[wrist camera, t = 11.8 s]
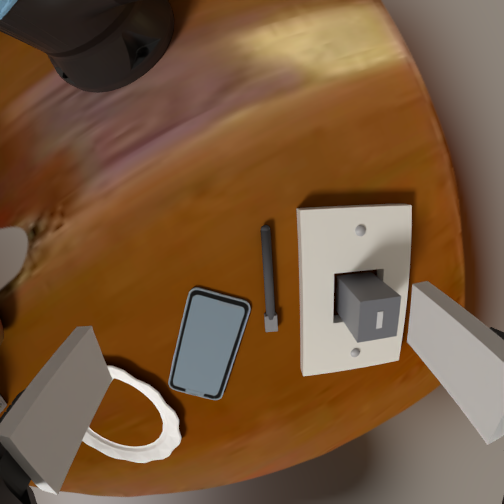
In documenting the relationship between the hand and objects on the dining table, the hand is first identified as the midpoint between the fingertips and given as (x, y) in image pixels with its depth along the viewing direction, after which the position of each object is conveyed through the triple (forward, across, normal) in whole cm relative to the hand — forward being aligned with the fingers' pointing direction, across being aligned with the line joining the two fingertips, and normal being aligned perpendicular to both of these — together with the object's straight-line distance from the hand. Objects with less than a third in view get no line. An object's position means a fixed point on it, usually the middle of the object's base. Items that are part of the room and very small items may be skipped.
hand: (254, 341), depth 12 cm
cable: (+23, +2, -6) cm, 24 cm away
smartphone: (+23, -7, -14) cm, 28 cm away
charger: (+23, +12, -10) cm, 27 cm away
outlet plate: (+23, +12, -9) cm, 27 cm away
